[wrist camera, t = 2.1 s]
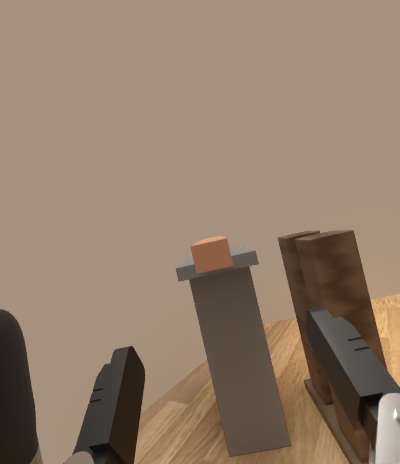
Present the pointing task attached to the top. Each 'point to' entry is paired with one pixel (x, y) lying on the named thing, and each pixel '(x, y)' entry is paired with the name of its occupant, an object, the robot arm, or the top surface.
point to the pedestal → (238, 354)
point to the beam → (211, 254)
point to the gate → (339, 305)
